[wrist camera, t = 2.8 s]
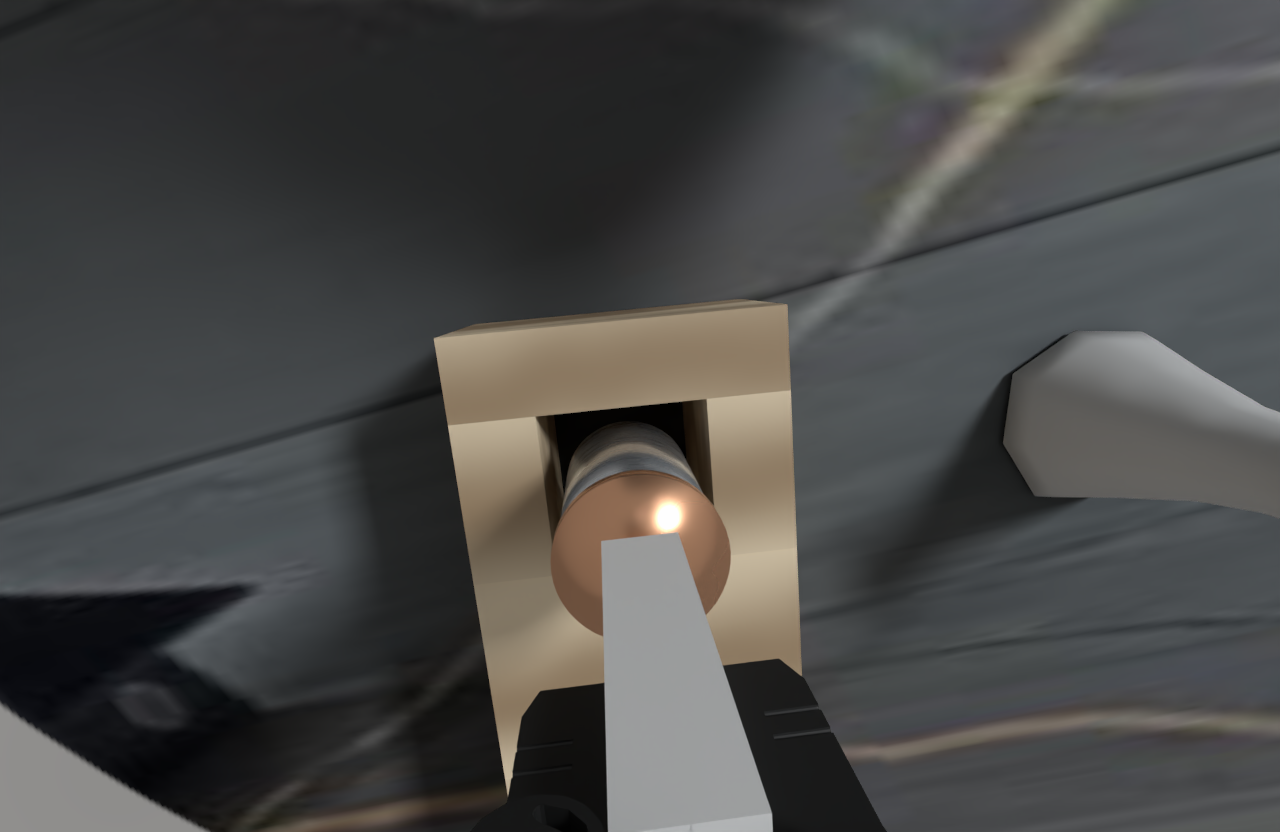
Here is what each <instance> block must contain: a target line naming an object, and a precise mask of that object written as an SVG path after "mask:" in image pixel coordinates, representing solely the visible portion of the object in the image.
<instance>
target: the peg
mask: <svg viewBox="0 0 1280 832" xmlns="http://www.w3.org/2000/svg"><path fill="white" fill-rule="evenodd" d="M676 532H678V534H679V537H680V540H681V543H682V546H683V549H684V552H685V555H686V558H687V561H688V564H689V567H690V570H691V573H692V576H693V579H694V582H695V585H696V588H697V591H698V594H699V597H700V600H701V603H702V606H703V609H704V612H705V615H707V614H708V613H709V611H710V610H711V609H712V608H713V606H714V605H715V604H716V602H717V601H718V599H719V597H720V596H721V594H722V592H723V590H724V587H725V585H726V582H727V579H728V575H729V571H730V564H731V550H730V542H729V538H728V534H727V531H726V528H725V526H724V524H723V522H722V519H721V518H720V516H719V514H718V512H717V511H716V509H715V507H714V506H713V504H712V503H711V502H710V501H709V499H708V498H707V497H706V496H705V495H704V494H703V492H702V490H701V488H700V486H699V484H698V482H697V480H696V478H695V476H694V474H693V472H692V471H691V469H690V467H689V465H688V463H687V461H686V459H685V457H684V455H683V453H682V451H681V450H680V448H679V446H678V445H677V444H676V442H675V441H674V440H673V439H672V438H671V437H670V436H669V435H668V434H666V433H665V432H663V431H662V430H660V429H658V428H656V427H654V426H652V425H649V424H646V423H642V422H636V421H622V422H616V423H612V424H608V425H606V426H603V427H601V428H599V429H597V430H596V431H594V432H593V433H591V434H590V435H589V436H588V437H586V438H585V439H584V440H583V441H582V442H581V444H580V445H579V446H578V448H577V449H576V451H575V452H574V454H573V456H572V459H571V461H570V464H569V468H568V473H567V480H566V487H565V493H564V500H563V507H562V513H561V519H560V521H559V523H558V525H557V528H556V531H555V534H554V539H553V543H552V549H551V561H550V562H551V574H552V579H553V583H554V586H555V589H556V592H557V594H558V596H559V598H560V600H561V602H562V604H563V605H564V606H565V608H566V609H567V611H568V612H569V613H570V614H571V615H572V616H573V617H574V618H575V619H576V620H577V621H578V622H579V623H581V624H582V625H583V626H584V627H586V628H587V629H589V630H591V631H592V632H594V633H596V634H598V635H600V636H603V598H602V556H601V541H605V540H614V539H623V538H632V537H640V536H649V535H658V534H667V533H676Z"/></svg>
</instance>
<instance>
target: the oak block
mask: <svg viewBox="0 0 1280 832" xmlns="http://www.w3.org/2000/svg"><path fill="white" fill-rule="evenodd" d="M434 343H435V349H436V355H437V361H438V367H439V374H440V380H441V386H442V392H443V398H444V404H445V411H446V417H447V423H448V429H449V435H450V442H451V448H452V454H453V460H454V466H455V472H456V479H457V485H458V491H459V497H460V503H461V509H462V516H463V522H464V528H465V534H466V540H467V547H468V553H469V559H470V565H471V571H472V577H473V584H474V590H475V596H476V602H477V608H478V614H479V621H480V627H481V633H482V639H483V645H484V652H485V658H486V664H487V670H488V676H489V682H490V689H491V695H492V701H493V707H494V713H495V720H496V726H497V732H498V738H499V744H500V750H501V757H502V763H503V769H504V775H505V781H506V787H507V794H509V788H510V782H511V778H512V777H513V773H512V771H513V765H514V759H515V753H516V752H517V741H518V735H519V729H520V724H521V718H522V716H523V714H524V713H525V712H526V710H527V709H528V707H529V706H530V704H531V703H532V702H533V700H534V699H535V697H536V696H537V695H538V693H539V692H540V691H543V690H551V689H559V688H567V687H575V686H583V685H591V684H599V683H604V640H603V636H600V635H598V634H596V633H594V632H592V631H591V630H589V629H587V628H586V627H584V626H583V625H582V624H581V623H579V622H578V621H577V620H576V619H575V618H574V617H573V616H572V615H571V614H570V613H569V612H568V611H567V609H566V608H565V606H564V605H563V604H562V602H561V600H560V598H559V596H558V594H557V592H556V589H555V586H554V583H553V579H552V574H551V562H550V561H551V549H552V543H553V539H554V534H555V531H556V528H557V525H558V523H559V521H560V519H561V513H562V507H563V500H564V491H563V483H562V475H561V467H560V459H559V450H558V442H557V434H556V426H555V418H554V415H555V414H565V413H575V412H585V411H594V410H604V409H614V408H623V407H633V406H643V405H653V404H662V403H672V402H682V407H683V420H684V433H685V446H686V459H687V463H688V465H689V467H690V469H691V471H692V472H693V474H694V476H695V478H696V480H697V482H698V484H699V486H700V488H701V490H702V492H703V494H704V495H705V496H706V497H707V498H708V499H709V501H710V502H711V503H712V504H713V506H714V507H715V509H716V511H717V512H718V514H719V516H720V518H721V519H722V522H723V524H724V526H725V528H726V531H727V534H728V538H729V542H730V550H731V564H730V571H729V575H728V579H727V582H726V585H725V587H724V590H723V592H722V594H721V596H720V597H719V599H718V601H717V602H716V604H715V605H714V606H713V608H712V609H711V610H710V611H709V613H708V614H707V615H706V618H707V621H708V623H709V626H710V629H711V632H712V635H713V638H714V641H715V644H716V647H717V650H718V653H719V656H720V659H721V662H722V665H730V664H738V663H746V662H754V661H762V660H770V659H778V658H779V659H780V660H782V661H783V662H784V663H785V664H787V665H788V666H789V667H790V668H792V669H793V670H794V671H796V672H797V673H798V674H799V675H801V676H802V670H801V644H800V618H799V593H798V567H797V541H796V515H795V489H794V463H793V438H792V412H791V386H790V360H789V334H788V309H787V304H779V303H771V302H762V301H753V300H744V299H735V300H724V301H714V302H703V303H693V304H682V305H672V306H661V307H651V308H640V309H630V310H619V311H609V312H598V313H588V314H577V315H566V316H556V317H545V318H535V319H524V320H514V321H503V322H493V323H482V324H474V325H471V326H468V327H465V328H462V329H459V330H457V331H454V332H451V333H448V334H445V335H442V336H439V337H436V338H434Z"/></svg>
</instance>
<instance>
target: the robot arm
mask: <svg viewBox="0 0 1280 832" xmlns="http://www.w3.org/2000/svg"><path fill="white" fill-rule="evenodd" d="M601 556H602V598H603V640H604V683H599V684H591V685H583V686H575V687H567V688H559V689H551V690H543V691H540V692H539V693H538V695H537V696H536V697H535V699H534V700H533V702H532V703H531V704H530V706H529V707H528V709H527V710H526V712H525V713H524V714H523V716H522V718H521V724H520V729H519V735H518V741H517V752H516V753H515V759H514V765H513V771H512V773H513V777H512V778H511V782H510V788H509V794H508V800H507V803H506V804H505V805H503V806H502V807H500V808H498V809H497V810H495V811H494V812H492V813H490V814H489V815H487V816H485V817H484V818H482V819H481V820H480V822H479V823H478V824H477V825H476V826H475V827H474V828H473V829H472V830H471V831H470V832H887V831H886V830H885V828H884V827H883V826H882V824H881V822H880V820H879V818H878V816H877V814H876V812H875V811H874V809H873V807H872V805H871V803H870V801H869V799H868V797H867V796H866V794H865V792H864V790H863V788H862V786H861V784H860V782H859V780H858V779H857V777H856V775H855V773H854V771H853V769H852V767H851V765H850V764H849V762H848V760H847V758H846V756H845V754H844V752H843V750H842V748H841V747H840V745H839V743H838V741H837V739H836V737H835V735H834V733H831V730H830V726H829V724H828V722H827V720H826V718H825V716H824V715H823V713H822V711H821V710H819V707H818V703H817V701H816V700H815V698H814V696H813V694H812V692H811V690H810V688H809V686H808V684H807V683H806V681H805V679H804V678H803V677H802V676H801V675H799V674H798V673H797V672H796V671H794V670H793V669H792V668H790V667H789V666H788V665H787V664H785V663H784V662H783V661H782V660H780V659H779V658H778V659H770V660H762V661H754V662H746V663H738V664H730V665H722V662H721V659H720V656H719V653H718V650H717V647H716V644H715V641H714V638H713V635H712V632H711V629H710V626H709V623H708V621H707V618H706V615H705V612H704V609H703V606H702V603H701V600H700V597H699V594H698V591H697V588H696V585H695V582H694V579H693V576H692V573H691V570H690V567H689V564H688V561H687V558H686V555H685V552H684V549H683V546H682V543H681V540H680V537H679V534H678V532H676V533H667V534H658V535H649V536H640V537H632V538H623V539H614V540H605V541H601Z"/></svg>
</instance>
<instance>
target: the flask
mask: <svg viewBox="0 0 1280 832" xmlns="http://www.w3.org/2000/svg"><path fill="white" fill-rule="evenodd" d="M1003 444H1004V446H1005V448H1006V449H1007V451H1008V453H1009V454H1010V456H1011V458H1012V459H1013V461H1014V463H1015V464H1016V466H1017V468H1018V469H1019V471H1020V473H1021V474H1022V476H1023V478H1024V479H1025V481H1026V482H1027V484H1028V486H1029V487H1030V489H1031V491H1032V492H1033V494H1034V496H1041V497H1096V498H1133V499H1156V500H1178V501H1198V502H1204V503H1209V504H1215V505H1220V506H1226V507H1232V508H1237V509H1243V510H1249V511H1254V512H1260V513H1264V514H1267V515H1270V516H1273V517H1276V518H1279V519H1280V413H1279V412H1277V411H1274V410H1271V409H1269V408H1266V407H1264V406H1262V405H1260V404H1259V403H1257V402H1255V401H1253V400H1252V399H1250V398H1248V397H1247V396H1245V395H1243V394H1242V393H1240V392H1238V391H1236V390H1235V389H1233V388H1231V387H1230V386H1228V385H1226V384H1225V383H1223V382H1221V381H1220V380H1218V379H1216V378H1214V377H1213V376H1211V375H1209V374H1208V373H1206V372H1204V371H1203V370H1201V369H1199V368H1198V367H1196V366H1195V365H1193V364H1192V363H1190V362H1189V361H1187V360H1186V359H1184V358H1183V357H1181V356H1180V355H1178V354H1177V353H1175V352H1174V351H1172V350H1171V349H1169V348H1168V347H1166V346H1165V345H1163V344H1162V343H1160V342H1159V341H1157V340H1155V339H1154V338H1152V337H1150V336H1149V335H1147V334H1145V333H1144V332H1140V331H1073V332H1072V333H1070V334H1069V335H1067V336H1066V337H1065V338H1063V339H1062V340H1060V341H1059V342H1058V343H1056V344H1055V345H1053V346H1052V347H1050V348H1049V349H1048V350H1046V351H1045V352H1043V353H1042V354H1040V355H1039V356H1038V357H1036V358H1035V359H1033V360H1032V361H1030V362H1029V363H1028V364H1026V365H1025V366H1023V367H1022V368H1020V369H1019V370H1018V371H1016V372H1015V373H1013V375H1012V382H1011V390H1010V397H1009V404H1008V411H1007V418H1006V425H1005V432H1004V440H1003Z"/></svg>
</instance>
